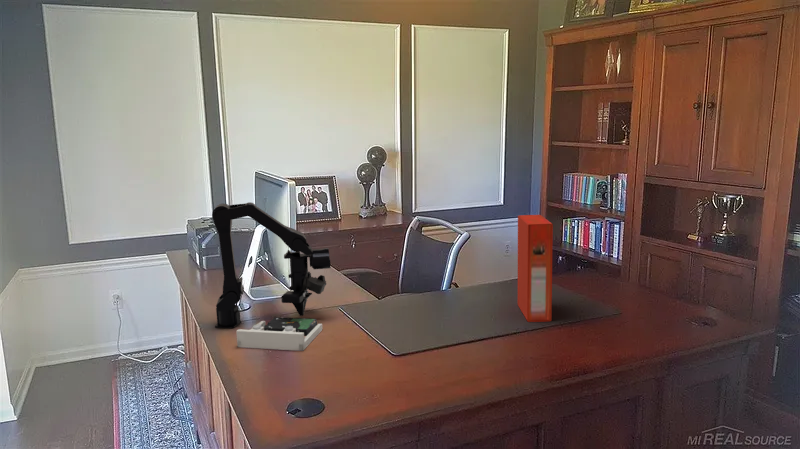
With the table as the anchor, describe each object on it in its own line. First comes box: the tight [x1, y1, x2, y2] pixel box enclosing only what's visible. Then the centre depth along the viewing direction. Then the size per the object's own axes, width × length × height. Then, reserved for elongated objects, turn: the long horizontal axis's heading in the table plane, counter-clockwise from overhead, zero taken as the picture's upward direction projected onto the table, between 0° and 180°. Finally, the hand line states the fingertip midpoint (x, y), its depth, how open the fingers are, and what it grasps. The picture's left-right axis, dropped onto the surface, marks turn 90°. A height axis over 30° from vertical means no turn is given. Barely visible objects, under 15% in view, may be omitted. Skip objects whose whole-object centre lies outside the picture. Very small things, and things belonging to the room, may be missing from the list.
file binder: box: [517, 214, 554, 323], centre depth 197 cm, size 8×17×32 cm, turn 179°
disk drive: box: [264, 316, 318, 337], centre depth 189 cm, size 10×3×15 cm
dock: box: [236, 320, 323, 352], centre depth 182 cm, size 20×18×6 cm
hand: (301, 315), depth 199 cm, fingers closed
